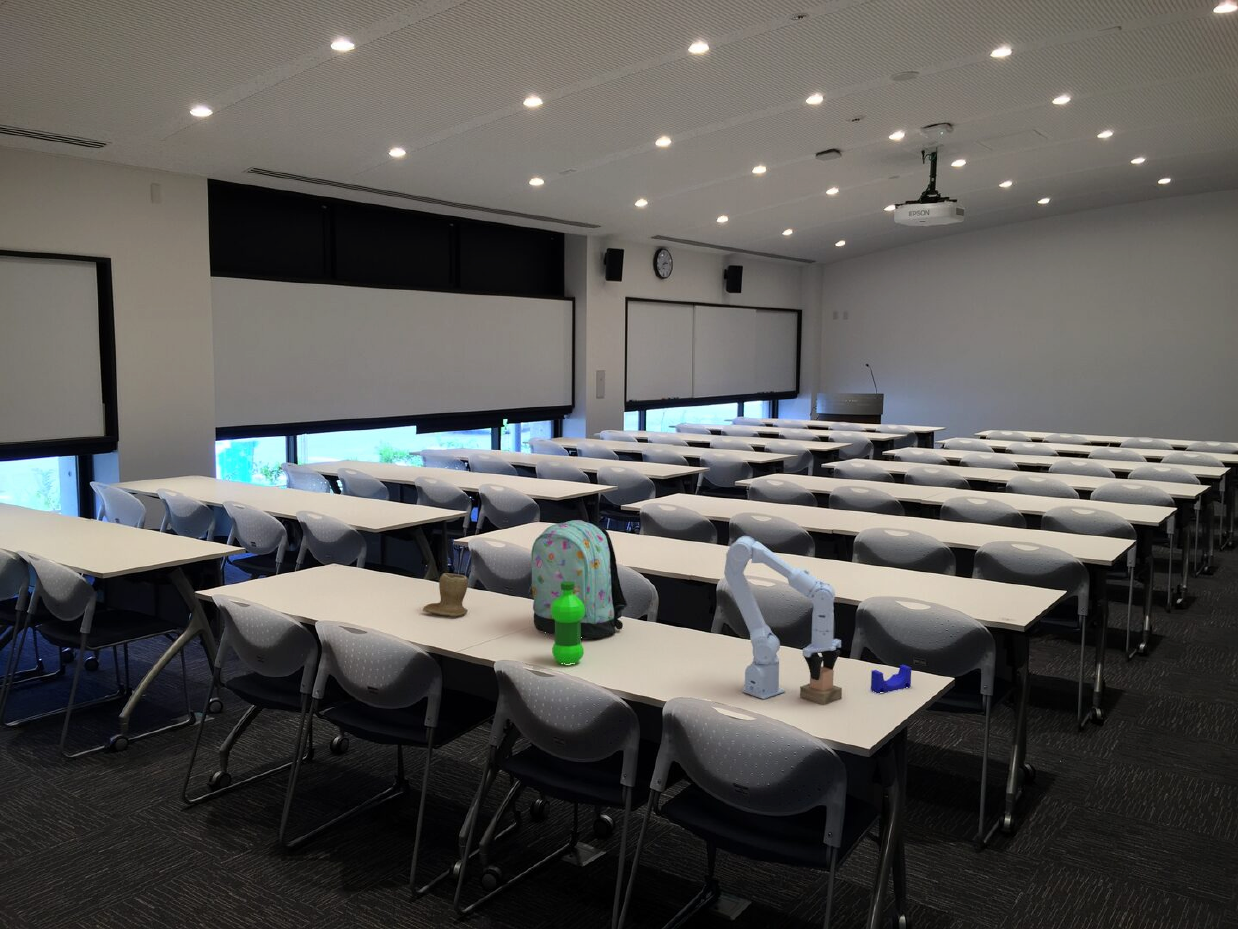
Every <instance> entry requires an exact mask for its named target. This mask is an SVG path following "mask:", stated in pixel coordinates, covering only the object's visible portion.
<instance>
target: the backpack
mask: <svg viewBox="0 0 1238 929" xmlns="http://www.w3.org/2000/svg"><path fill="white" fill-rule="evenodd" d="M530 555H531V556H530V557H531V585H530V587H529V591H528V592H527V593H528V594H529V593H530V594H529V598H533V603H532V610H533V625H534V628H535V629H536V630H537V631H539V630H540V631H539V632H541V633H544V632H546V633H549V634H548V635H550V634H553V635H555V620H554V618H553V617H552V614H551V605H552V603H553V602H554V601H555V600H556V599H557V598H558V597H559V596H561V595H562V594H563V590H561V583H562V582H574V583H575V589H574V590H573V594H574V595H575V596H576V597H577V598H579V599H580V600H581V601H582V603H583V604H584V607H585V614H584V617H583V618H582V619H581V637H582V638H581V639H583V638H588V639H587V640H594V639H593V638H599V639H602V638H605V637H606V636H608V635H607V634H609V635H614V634H615V633H616V632H617V630H622V629H623V624H624V623H623V621H621V620H620V618H622V611H623V610H625V608H627V607H628V603H627V601H626V598H625V596H624V592H623V589H622V587H621V581H620V577H619V573H618V565H617V558H616V553H615V550H614V545H613V542H612V539H611V536H610V535H609V533H608V531H607V529H605V528H604V527H602V526H598V525H595V524H593V523H590V522H585V521H583V520H582V519H580V520H579V519H577V520H576V519H575V520H570V521H566V522H561V523H560V522H559V523H555V524H552V525H551V526H550V525H549V526H548V527H547V528H545V529H544V530H543V532H542V533H541V534H540V535H539V536H538V537H536V539H535V540H534V542H533V545H532V547H531V554H530ZM616 629H617V630H616ZM546 633H545V634H546ZM613 633H614V634H613Z"/></svg>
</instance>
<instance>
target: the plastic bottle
mask: <svg viewBox="0 0 1238 929" xmlns="http://www.w3.org/2000/svg"><path fill="white" fill-rule="evenodd" d="M574 589H575V583H574V582H562V583H561V590H563V594H562V595H561V596H559V597H558V598H557V599H556V600H555V601H554V602H553V603H552V605H551V614H552V617H553V618H554V620H555V634H554V643H553V645H552V648H551V653H552V655H553V658H554V660H555V661H556V662H558V663H559V664H560V663H563V664H564V663H565V664H570V663H576V664H577V663H578V662H579V661H580V660H581V659H582V658H583V657H584V653H585V650H584V647H583V644H582V642H581V641H582V640H581V639H582V638H581V619H582V618H583V617H584V614H585V607H584V604H583V603H582V601H581V600H580V599H579V598H577V597H576V596H575V595H574V594H573V590H574Z"/></svg>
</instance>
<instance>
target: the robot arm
mask: <svg viewBox="0 0 1238 929" xmlns="http://www.w3.org/2000/svg"><path fill="white" fill-rule="evenodd" d="M725 558H726V559H725V563H724V564H725V566H724V574H723V575H724V577H725V579H726V582H727V584H728V586H729V589H730V591H731V593H732V595H733V598H734V599H735V602H736V604H737V607H738V608H739V612H740V613H741V616H742V618H743V621H744V623H745V625H746V627H747V630H748V632H749V636H750V638H749V639H750V643H751V645H752V656H753V658H752V662H751V663H750V664H749V665H747V666H746V668H745V670H744V689H742V693H745V694H748V695H751V696H753V697H756V698H759V699H762V700H765V699H768V698H772V697H773V696H774V697H775V696H777V695H780V694H783V693H785V692H786V690H785V689H783V688H780V687H779V684H780V658H779V657H778V655H777V654H778V652H779V651H780V647H781V642H780V640H779V638H778V637H777V636H776V635H775V634H774V633H773V632H772V630H771V627H770V626H769V625H767V623H766V621H765V619H764V617H763V615H762V612H761V610H760V607H759V606H758V603H757V600H756V598H755V596H754V595H753V592H752V590H751V588H750V585H749V582H748V581H747V578H746V576H745V574H744V572H745V570H746V568H747V565H748V563H749V561H750V560H751V561H750V562H751V564H764V565H766V566H767V567H769V568H770V569H771V570H773V571H775V572H776V573H778V574H780V576H781V575H782V576H783V577H785V578H786V579H787V581H788V586H790V588H792V589H794V590H795V591H796V592H798V593H800V594H801V595H802V596H804V597H806V598H807V599H810V600H811V604H812V605H813V608H812V609H813V611H812V614H811V615H812V617H811V618H812V619H811V621H812V622H811V643H809V644H808V645H807V646H806V647H804V648H802V656H803V658H804V659H805V662H806V664H807V667H808V670H809V676H810V675H811V679H814V680H819V677H820V668H821V666H822V667H825V668H828V669H832V670H834V669H835V668H834V667H835V665H836V662H837V660H838V658H839V656H840V655H841V650H840V649H837V648H842V640H841V639H838V638H834V625H835V624H834V620H835V619H834V617H835V616H834V615H835V614H834V608H835V607H834V602H835V598H836V593H835V589H834V588H833V587H832V585H830V583H827V582H824V581H823V580H822V579H821V580H819V579H818V578H816V577H815V576H813V575H812V574H810V570H809V569H807V568H804V569H803V568H801V567H800V568H799V567H798V568H794V567H792V566H791V565H790V564H789V563H787V562H786V561H785V560H783V559H782V558H781V557H779V556H778V555H777V554H775V553H774V552H773V551H771V550H770V549H769V548H768V547H766V546H765V545H764V544H762V543H761V542H760V541H758V540H755V539H754V538H753V537H752V536H748V535H743V536H740V537H738V538H737V539H736V541H735V542H733V543H732V544H731V545H730V547H729V548H728V549H727V552H726V553H725ZM819 653H821V656H820V654H819Z"/></svg>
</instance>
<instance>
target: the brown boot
mask: <svg viewBox="0 0 1238 929" xmlns="http://www.w3.org/2000/svg"><path fill="white" fill-rule="evenodd" d="M468 584H469V581H468V577H467V576H466V575H462V574H457V573H449V572H446V573H445V572H444V573H442V574H441V576H440V578H439V581H438V585H439V586H438V588H439V595H440V601H439V602H435V603H434V602H432V603H428V604H426V605H425V606H424V607H423V608H422V612H425V613H430V614H434V613H436V614H435V615H439V614H442V615H441V616H446V615H449V616H448V617H460V616H459V615H461V616H463V615H462V614H464V615H466V614H467V613H468V611H469V610H468V609H467V608H465V607H464V606H463V605H464V604H463V601H464V599H465V596H466V594H467V590H468ZM465 613H466V614H465Z"/></svg>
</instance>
